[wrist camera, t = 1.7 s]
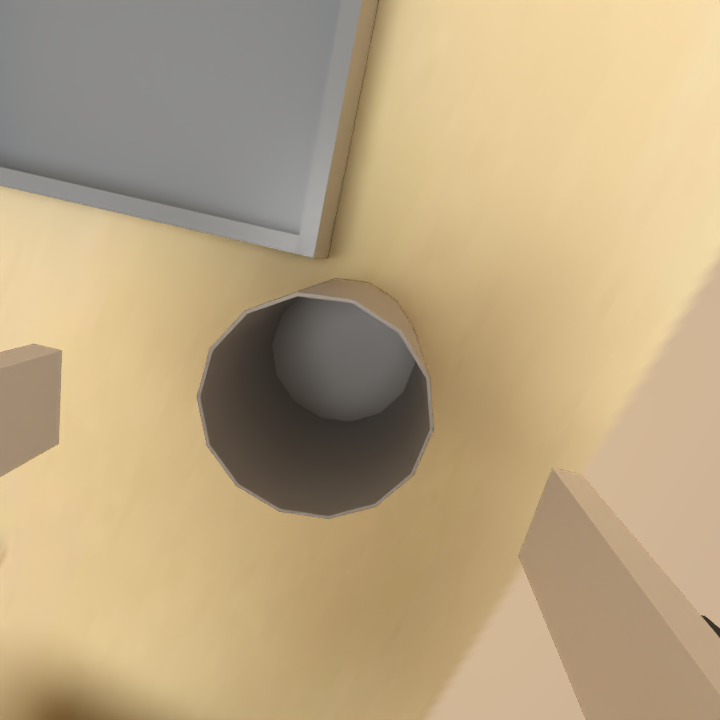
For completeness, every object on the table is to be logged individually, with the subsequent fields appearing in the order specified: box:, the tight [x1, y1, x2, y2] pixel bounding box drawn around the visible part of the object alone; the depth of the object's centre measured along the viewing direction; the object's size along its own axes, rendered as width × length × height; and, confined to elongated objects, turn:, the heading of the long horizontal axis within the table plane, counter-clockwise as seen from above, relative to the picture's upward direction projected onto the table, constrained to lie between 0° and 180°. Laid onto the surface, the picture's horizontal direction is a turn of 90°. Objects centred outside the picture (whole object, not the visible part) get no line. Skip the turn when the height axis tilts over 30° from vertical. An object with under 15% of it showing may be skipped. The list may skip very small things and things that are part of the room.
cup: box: [197, 278, 434, 519], centre depth 20 cm, size 8×8×10 cm
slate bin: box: [0, 0, 379, 258], centre depth 19 cm, size 15×21×4 cm
